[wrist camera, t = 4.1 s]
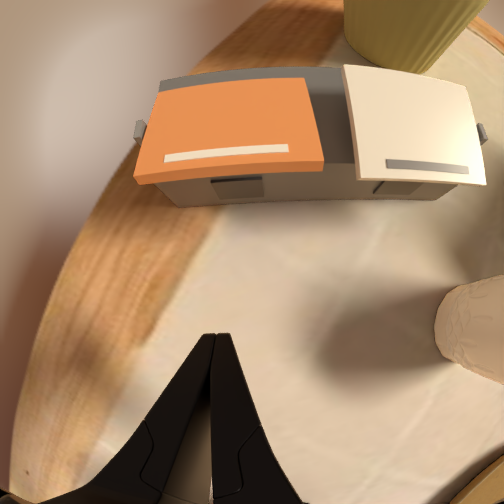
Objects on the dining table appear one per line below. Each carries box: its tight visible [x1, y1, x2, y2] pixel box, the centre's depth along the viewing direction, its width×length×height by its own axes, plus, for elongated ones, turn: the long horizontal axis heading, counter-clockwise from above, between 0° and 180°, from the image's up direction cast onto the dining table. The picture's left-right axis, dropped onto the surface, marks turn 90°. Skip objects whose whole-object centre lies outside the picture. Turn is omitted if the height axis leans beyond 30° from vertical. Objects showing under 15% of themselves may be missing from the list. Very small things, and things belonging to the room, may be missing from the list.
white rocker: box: [341, 64, 486, 186], centre depth 14 cm, size 7×9×1 cm
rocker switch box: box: [133, 67, 488, 208], centre depth 18 cm, size 8×27×9 cm, turn 92°
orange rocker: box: [133, 78, 324, 185], centre depth 14 cm, size 7×9×1 cm
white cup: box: [434, 274, 504, 385], centre depth 14 cm, size 8×8×10 cm
